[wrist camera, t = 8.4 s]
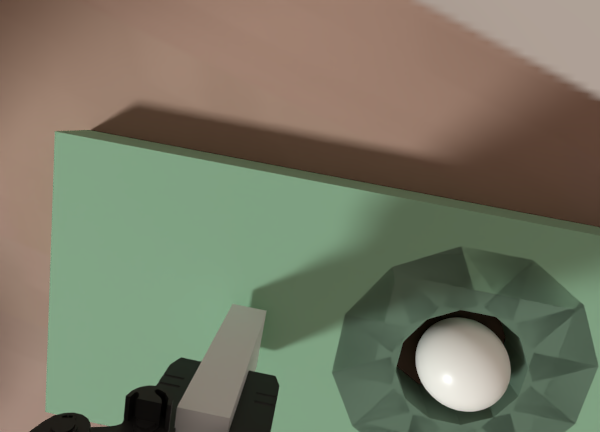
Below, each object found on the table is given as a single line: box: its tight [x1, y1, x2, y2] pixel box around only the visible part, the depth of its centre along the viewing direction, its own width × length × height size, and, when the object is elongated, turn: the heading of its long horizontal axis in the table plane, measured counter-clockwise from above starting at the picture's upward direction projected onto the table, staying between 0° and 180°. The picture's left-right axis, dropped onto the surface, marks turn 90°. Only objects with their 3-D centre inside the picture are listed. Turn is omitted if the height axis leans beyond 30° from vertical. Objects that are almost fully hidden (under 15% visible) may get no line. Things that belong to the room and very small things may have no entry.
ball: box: [415, 317, 511, 412], centre depth 19 cm, size 4×4×4 cm
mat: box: [45, 130, 600, 432], centre depth 20 cm, size 26×14×2 cm, turn 80°
